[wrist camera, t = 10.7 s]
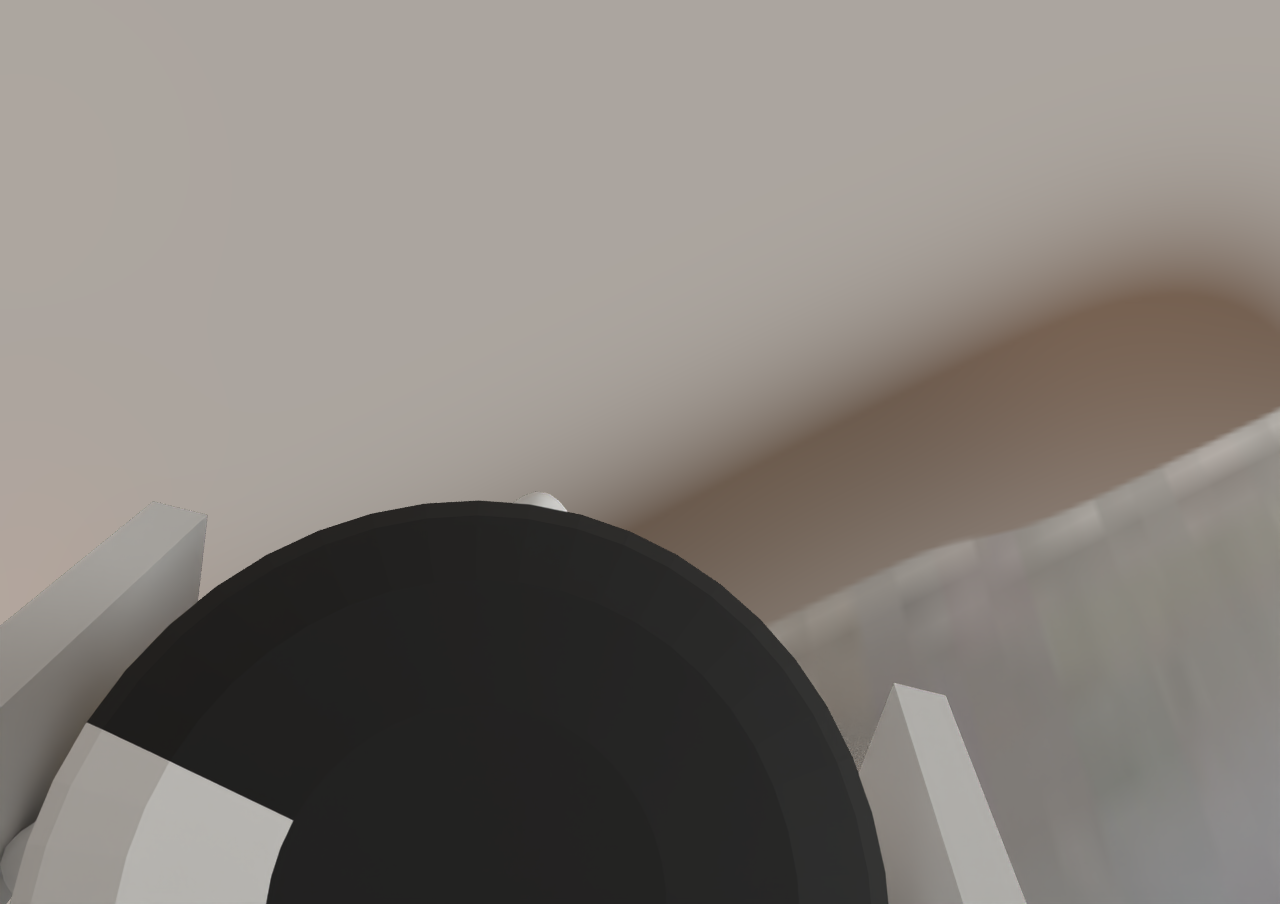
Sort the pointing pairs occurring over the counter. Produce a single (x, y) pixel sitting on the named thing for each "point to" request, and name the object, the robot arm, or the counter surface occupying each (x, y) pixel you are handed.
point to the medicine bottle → (458, 735)
